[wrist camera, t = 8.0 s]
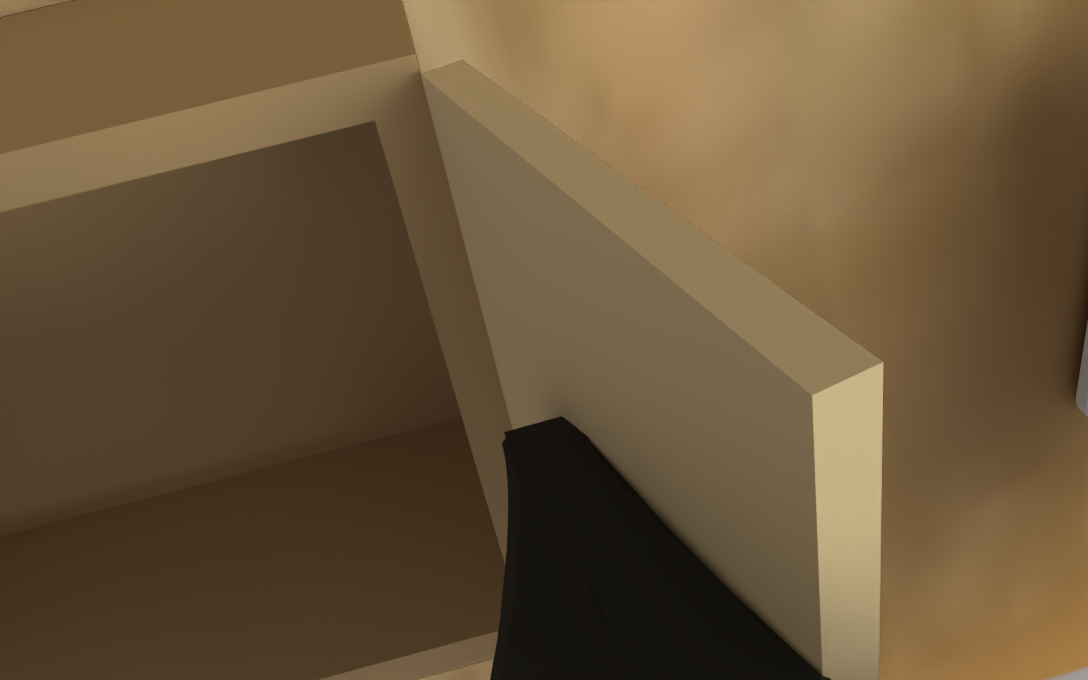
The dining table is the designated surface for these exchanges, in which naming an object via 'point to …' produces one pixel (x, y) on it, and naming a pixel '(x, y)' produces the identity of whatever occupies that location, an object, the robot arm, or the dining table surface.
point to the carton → (238, 352)
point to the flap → (675, 370)
